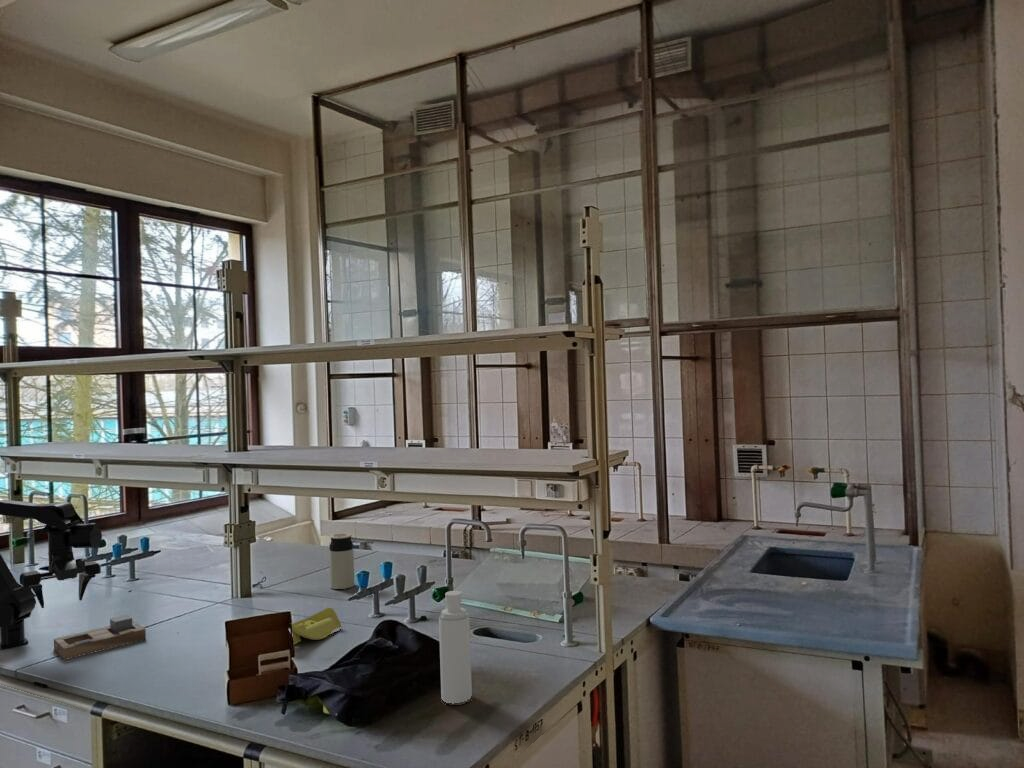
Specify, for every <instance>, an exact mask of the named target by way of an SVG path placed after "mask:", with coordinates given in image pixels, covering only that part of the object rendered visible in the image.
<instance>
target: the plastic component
mask: <svg viewBox="0 0 1024 768" xmlns="http://www.w3.org/2000/svg"><path fill="white" fill-rule="evenodd" d="M291 624H292V633H293V638H294V643H295V644H294V645H297V644H298V643H300V642H301V641H302V639H301V637H303V638H305V639H308V640H313V641H315V640H316V641H317V640H323V638H324V639H326V638H328V637H329V636H328V635H330V634H331V632H332V631H333V630H334V629H336V628H338V627H339V628H340V627H341V628H342V623H341V621H340V619H339V616H338V615H337V614H336V611H335V609H334V608H333V607H327V608H325V609H323V610H320V611H319V612H316V613H314V614H313V615H311V616H308V617H305V618H304V619H301V620H298V621H296V622H293V623H291ZM332 633H333V632H332ZM327 636H328V637H327ZM330 636H331V635H330ZM325 637H326V638H325Z"/></svg>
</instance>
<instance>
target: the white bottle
mask: <svg viewBox="0 0 1024 768" xmlns="http://www.w3.org/2000/svg"><path fill="white" fill-rule="evenodd" d="M462 595H463V594H462V591H461V590H449V591H447V592H445V601H444V602H445V604H446V608H444V609H442V610H441V612H440V613H439V614H438V627H439V628H438V630H439V631H438V635H439V660H440V661H439V662H440V663H439V664H440V665H439V667H440V668H439V669H440V694H441V697H440V698H441V699H442V700H443V701H444V702H446V703H452V704H454V703H460V702H464V701H467V700H468V699H470V698H471V696H472V697H473V691H472V658H471V657H472V656H471V655H472V654H471V630H470V629H471V628H470V625H471V623H470V612H469V611H467V609H466V608H464V607H462V604H461V603H462V602H463V601H462V600H463V599H462V598H463V596H462ZM442 700H441V701H442Z"/></svg>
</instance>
